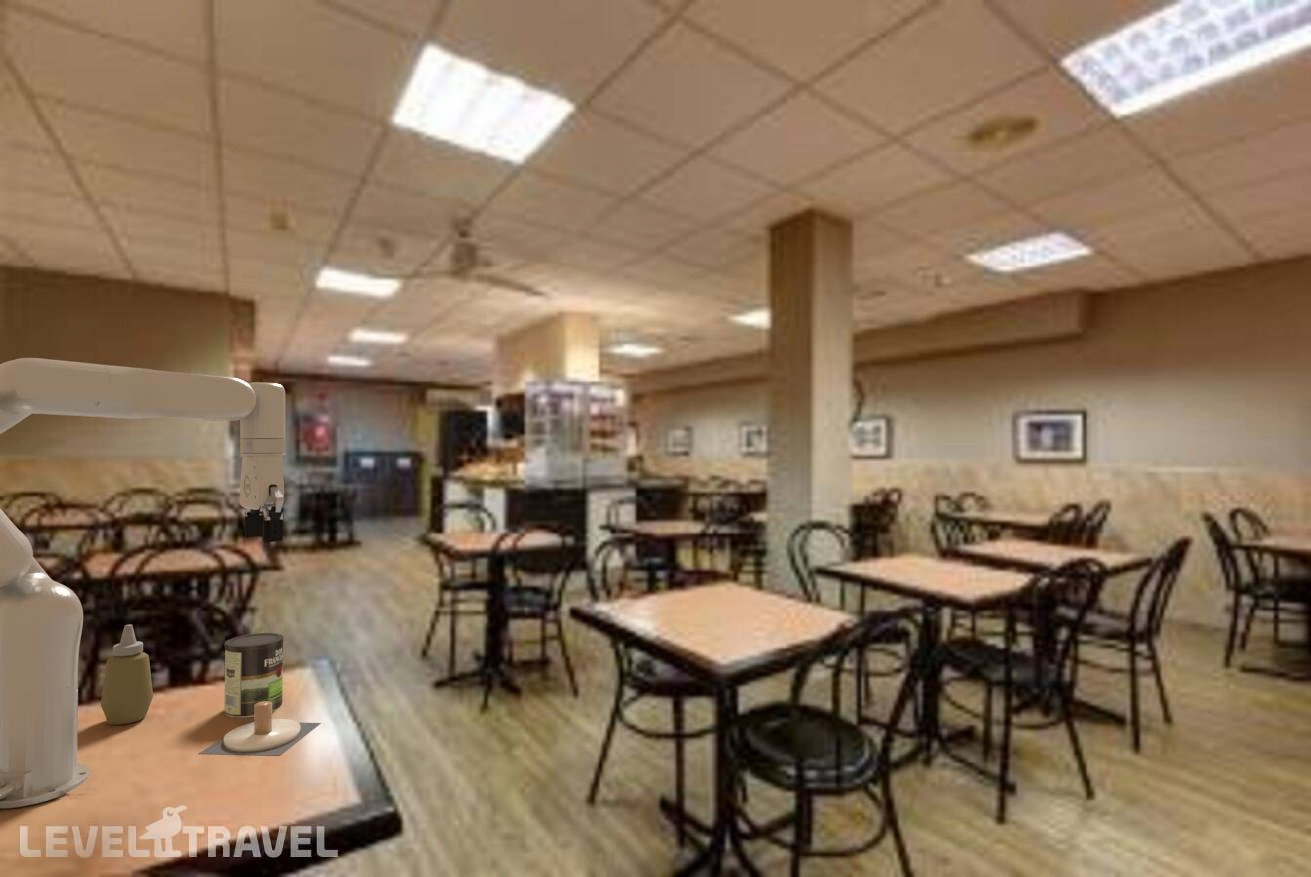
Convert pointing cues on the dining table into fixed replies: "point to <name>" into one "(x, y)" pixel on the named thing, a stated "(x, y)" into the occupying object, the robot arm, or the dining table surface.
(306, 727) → the mat
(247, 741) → the lid
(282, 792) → the dining table surface
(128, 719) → the squeeze bottle
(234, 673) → the coffee can
